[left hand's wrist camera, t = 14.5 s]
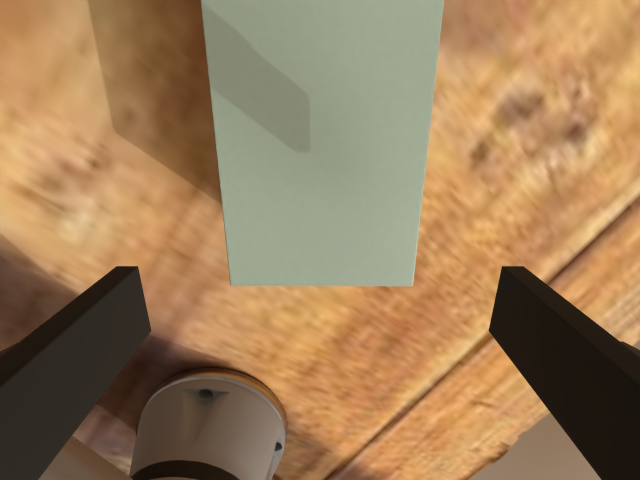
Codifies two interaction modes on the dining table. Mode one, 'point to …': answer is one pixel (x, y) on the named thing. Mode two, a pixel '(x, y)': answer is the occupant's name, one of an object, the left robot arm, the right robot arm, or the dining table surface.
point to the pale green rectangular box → (322, 136)
